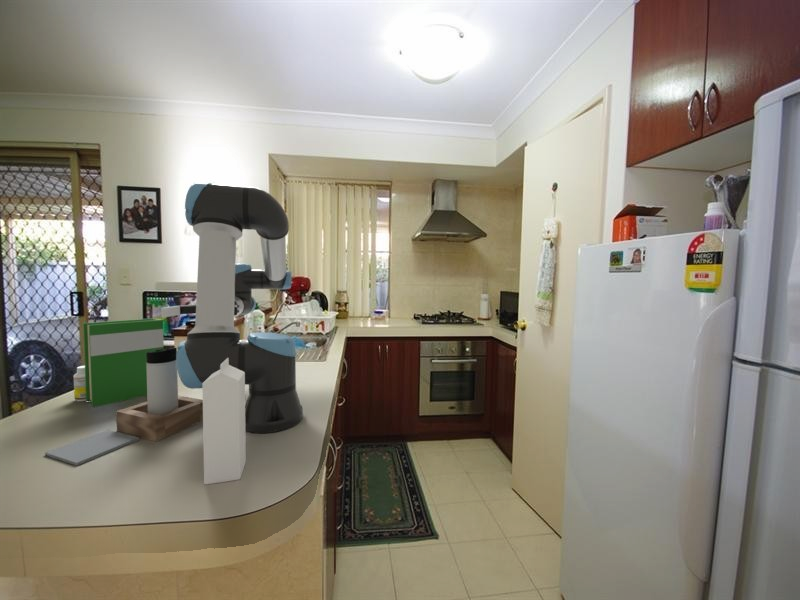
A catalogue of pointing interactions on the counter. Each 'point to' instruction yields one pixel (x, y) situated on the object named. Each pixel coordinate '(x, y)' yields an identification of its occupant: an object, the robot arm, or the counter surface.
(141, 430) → the cup stand
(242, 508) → the counter surface
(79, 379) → the supplement bottle
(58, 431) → the counter surface
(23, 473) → the counter surface
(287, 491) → the counter surface
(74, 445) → the slate mat
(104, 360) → the hardback book
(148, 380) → the travel mug
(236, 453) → the milk
